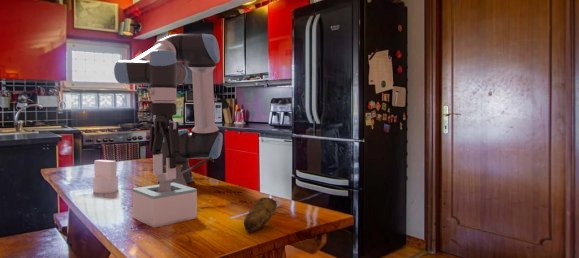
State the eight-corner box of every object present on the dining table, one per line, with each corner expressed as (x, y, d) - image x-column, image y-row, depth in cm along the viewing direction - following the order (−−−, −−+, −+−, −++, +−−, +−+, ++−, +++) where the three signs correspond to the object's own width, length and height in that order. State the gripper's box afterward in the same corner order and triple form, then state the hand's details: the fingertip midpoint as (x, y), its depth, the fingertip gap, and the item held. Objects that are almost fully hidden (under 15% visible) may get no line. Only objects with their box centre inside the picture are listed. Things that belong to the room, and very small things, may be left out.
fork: (220, 219, 121) (220, 214, 121) (277, 205, 138) (277, 200, 138) (227, 222, 118) (227, 216, 118) (284, 207, 136) (284, 202, 136)
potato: (232, 229, 111) (232, 201, 110) (266, 219, 120) (266, 194, 119) (251, 236, 105) (251, 206, 104) (285, 225, 114) (285, 198, 114)
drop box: (174, 209, 131) (174, 182, 130) (197, 218, 121) (196, 189, 120) (132, 217, 121) (132, 188, 120) (153, 227, 111) (153, 196, 111)
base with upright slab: (88, 191, 155) (87, 161, 154) (106, 187, 164) (105, 158, 163) (105, 193, 152) (104, 163, 151) (123, 189, 160) (122, 160, 159)
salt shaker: (168, 219, 117) (168, 176, 116) (151, 217, 119) (151, 174, 118) (178, 213, 123) (178, 172, 122) (161, 211, 124) (161, 171, 123)
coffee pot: (163, 207, 133) (163, 163, 132) (152, 200, 142) (152, 159, 142) (220, 198, 146) (220, 158, 145) (207, 192, 155) (206, 155, 154)
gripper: (136, 102, 123) (137, 174, 125) (168, 102, 109) (169, 183, 110) (159, 102, 129) (160, 171, 130) (192, 102, 114) (193, 180, 116)
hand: (164, 176), depth 120 cm, fingers open, 8 cm apart
